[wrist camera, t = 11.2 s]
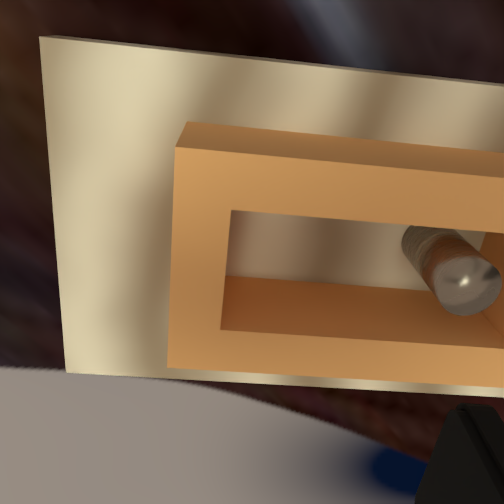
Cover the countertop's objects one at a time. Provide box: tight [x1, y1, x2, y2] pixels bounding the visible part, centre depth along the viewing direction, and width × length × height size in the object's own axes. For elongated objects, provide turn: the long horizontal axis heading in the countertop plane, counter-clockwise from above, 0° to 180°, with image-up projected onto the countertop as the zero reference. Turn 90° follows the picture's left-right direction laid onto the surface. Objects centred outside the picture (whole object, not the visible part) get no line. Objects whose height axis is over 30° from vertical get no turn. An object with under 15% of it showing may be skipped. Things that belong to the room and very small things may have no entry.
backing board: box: [39, 35, 504, 397], centre depth 23 cm, size 26×16×2 cm, turn 84°
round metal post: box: [401, 225, 502, 316], centre depth 20 cm, size 2×2×4 cm
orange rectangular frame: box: [167, 121, 504, 388], centre depth 20 cm, size 16×9×4 cm, turn 84°
